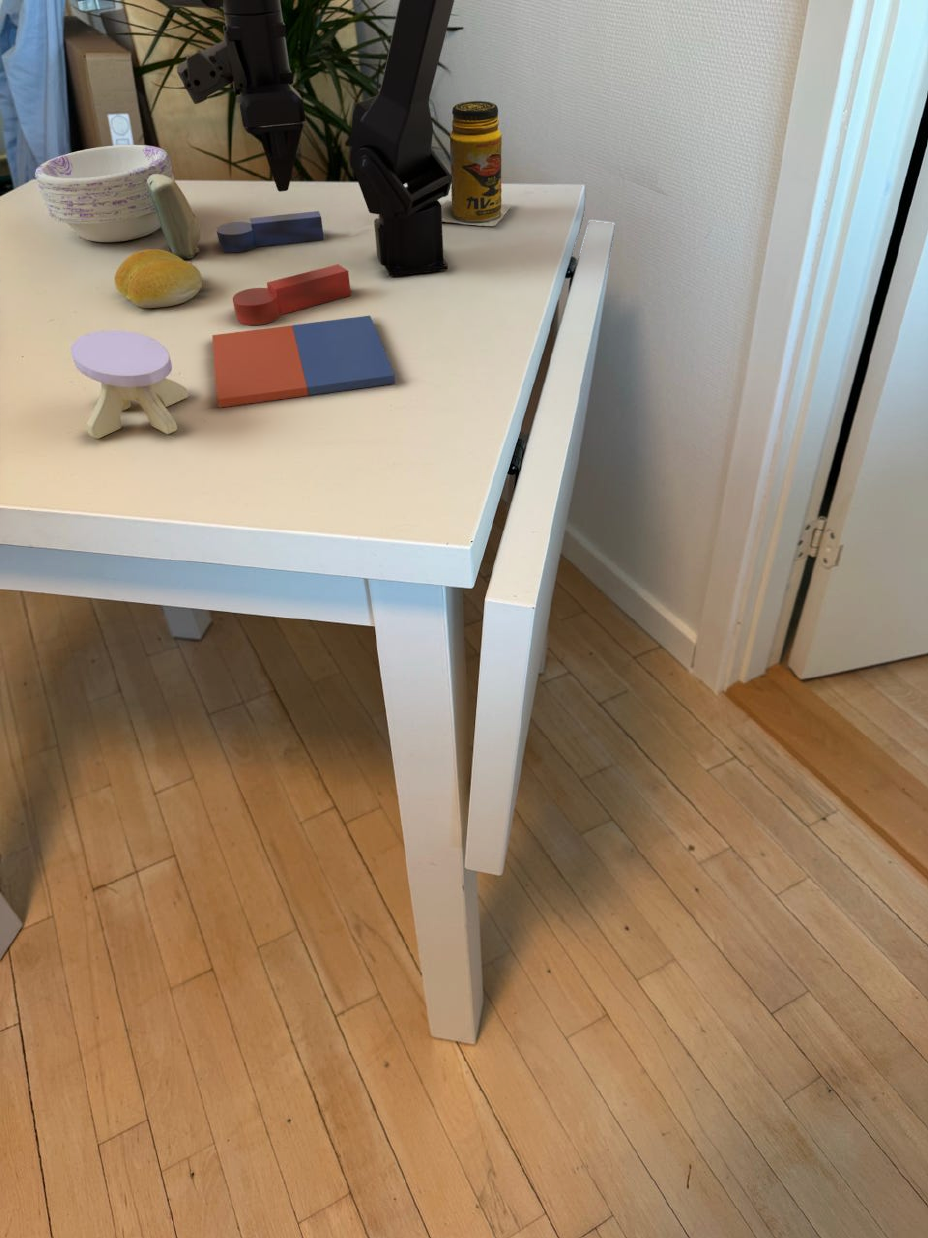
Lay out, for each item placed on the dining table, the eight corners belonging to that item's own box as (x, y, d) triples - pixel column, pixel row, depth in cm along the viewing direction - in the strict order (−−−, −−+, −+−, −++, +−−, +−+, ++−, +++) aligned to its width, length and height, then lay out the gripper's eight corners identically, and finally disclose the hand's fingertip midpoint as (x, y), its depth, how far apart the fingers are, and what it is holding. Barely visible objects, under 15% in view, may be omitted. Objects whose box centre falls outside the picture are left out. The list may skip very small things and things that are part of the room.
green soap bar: (145, 255, 100) (126, 180, 95) (179, 241, 103) (161, 167, 98) (181, 263, 98) (163, 187, 92) (214, 248, 101) (198, 174, 96)
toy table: (66, 411, 73) (42, 346, 69) (167, 378, 77) (150, 315, 73) (109, 459, 67) (85, 390, 63) (216, 420, 71) (200, 354, 67)
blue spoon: (320, 230, 105) (317, 207, 103) (325, 242, 102) (322, 219, 100) (219, 241, 103) (214, 218, 101) (220, 254, 100) (215, 230, 98)
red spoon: (336, 285, 92) (333, 260, 90) (356, 298, 89) (353, 273, 87) (229, 314, 87) (224, 288, 85) (247, 329, 84) (241, 302, 83)
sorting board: (370, 323, 85) (370, 315, 84) (395, 383, 75) (394, 374, 75) (213, 342, 82) (212, 334, 82) (218, 407, 73) (216, 399, 72)
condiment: (495, 227, 104) (495, 113, 96) (428, 221, 106) (422, 110, 98) (511, 208, 109) (512, 98, 101) (447, 203, 111) (443, 95, 103)
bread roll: (146, 317, 87) (135, 277, 84) (109, 292, 92) (97, 253, 90) (220, 294, 91) (211, 255, 88) (180, 271, 96) (171, 233, 93)
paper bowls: (52, 221, 110) (29, 152, 105) (174, 203, 114) (158, 135, 109) (61, 261, 99) (36, 186, 94) (195, 239, 104) (178, 166, 98)
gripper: (170, 3, 93) (204, 163, 103) (170, 31, 79) (208, 212, 90) (275, -4, 95) (298, 154, 105) (292, 22, 81) (316, 200, 92)
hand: (279, 178), depth 98 cm, fingers open, 9 cm apart
